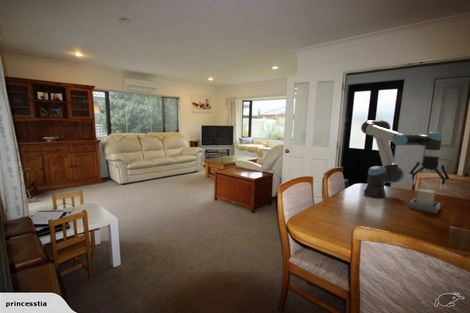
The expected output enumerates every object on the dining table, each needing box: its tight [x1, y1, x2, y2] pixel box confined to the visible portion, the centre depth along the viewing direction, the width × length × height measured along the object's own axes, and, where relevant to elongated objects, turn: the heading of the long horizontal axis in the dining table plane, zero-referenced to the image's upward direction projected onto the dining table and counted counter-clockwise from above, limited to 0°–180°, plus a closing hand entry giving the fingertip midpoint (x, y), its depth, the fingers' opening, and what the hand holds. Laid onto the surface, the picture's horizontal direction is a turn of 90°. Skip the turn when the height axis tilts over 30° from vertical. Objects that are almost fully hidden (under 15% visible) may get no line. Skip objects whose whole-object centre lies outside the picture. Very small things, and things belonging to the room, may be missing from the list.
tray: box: [408, 197, 441, 215], centre depth 152 cm, size 14×14×4 cm
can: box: [416, 188, 436, 207], centre depth 152 cm, size 9×9×12 cm
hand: (426, 186), depth 151 cm, fingers open, 13 cm apart
